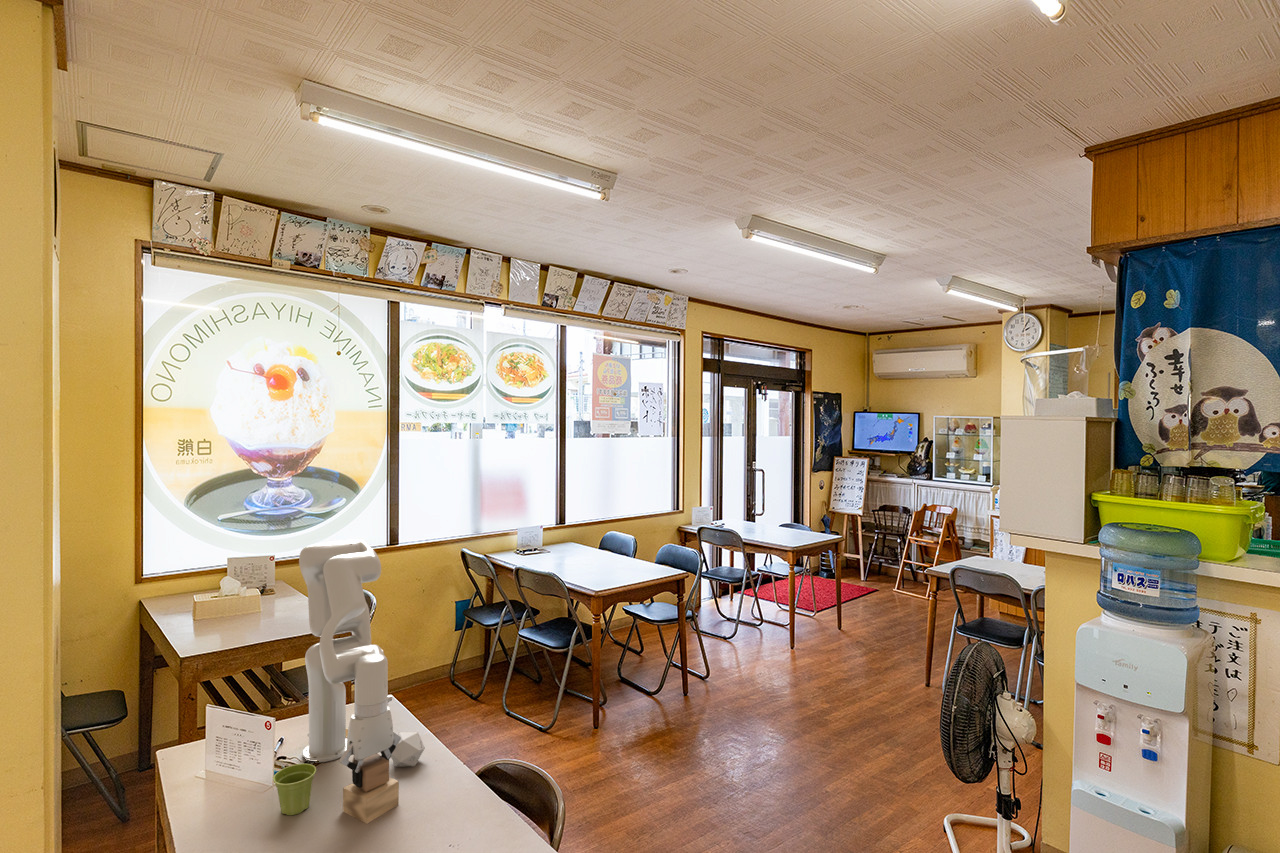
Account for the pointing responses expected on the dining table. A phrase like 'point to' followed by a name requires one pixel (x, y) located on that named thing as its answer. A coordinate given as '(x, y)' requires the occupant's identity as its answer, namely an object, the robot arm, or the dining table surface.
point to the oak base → (370, 800)
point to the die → (408, 749)
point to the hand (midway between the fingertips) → (371, 779)
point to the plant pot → (294, 787)
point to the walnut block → (374, 772)
